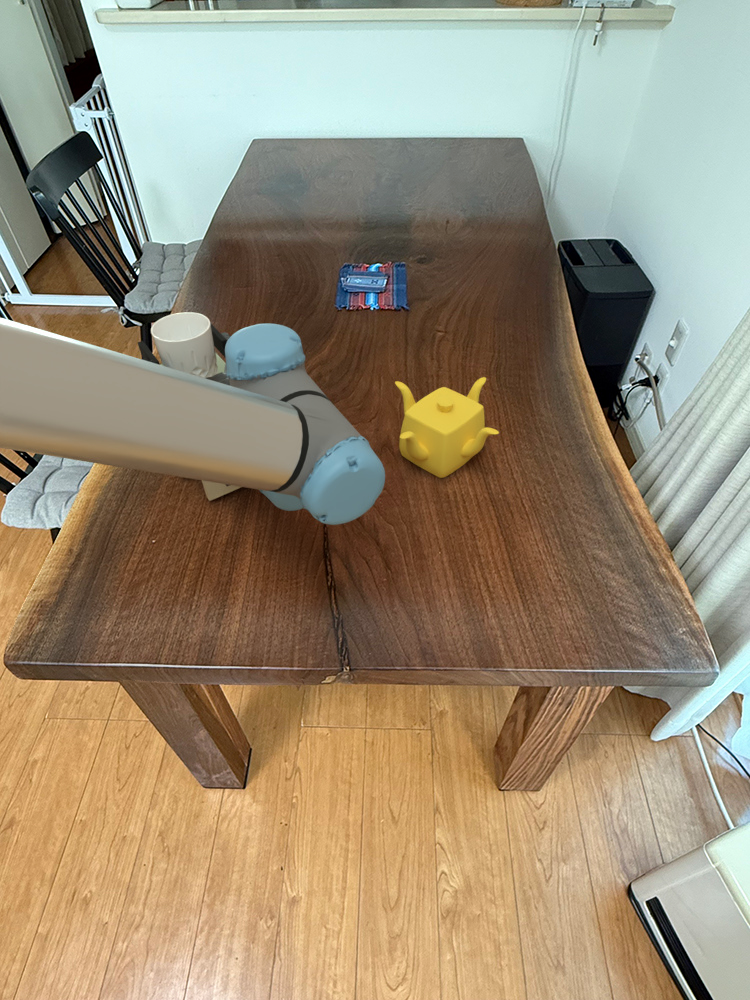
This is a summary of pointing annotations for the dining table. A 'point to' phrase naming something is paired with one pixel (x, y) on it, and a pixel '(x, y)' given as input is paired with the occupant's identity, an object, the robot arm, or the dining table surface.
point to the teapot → (443, 428)
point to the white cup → (186, 343)
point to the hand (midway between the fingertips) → (176, 339)
